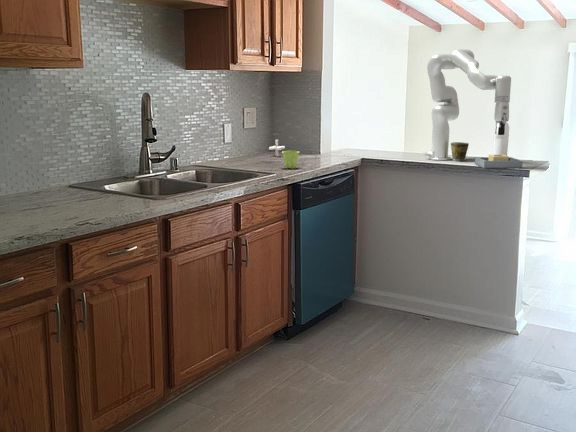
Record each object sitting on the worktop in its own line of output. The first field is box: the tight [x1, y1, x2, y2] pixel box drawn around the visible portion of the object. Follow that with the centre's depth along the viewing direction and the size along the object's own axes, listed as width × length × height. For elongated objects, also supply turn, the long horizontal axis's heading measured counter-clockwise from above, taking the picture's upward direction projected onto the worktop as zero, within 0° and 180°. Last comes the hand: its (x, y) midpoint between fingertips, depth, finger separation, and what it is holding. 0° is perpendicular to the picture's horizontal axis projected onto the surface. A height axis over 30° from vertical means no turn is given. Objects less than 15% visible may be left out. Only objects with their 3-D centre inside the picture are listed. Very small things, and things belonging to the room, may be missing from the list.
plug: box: [496, 121, 503, 139], centre depth 331 cm, size 4×4×9 cm
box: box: [474, 154, 523, 170], centre depth 335 cm, size 20×16×6 cm
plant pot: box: [281, 150, 300, 169], centre depth 331 cm, size 9×9×9 cm
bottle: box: [492, 121, 510, 156], centre depth 350 cm, size 8×8×30 cm
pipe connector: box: [268, 139, 286, 157], centre depth 379 cm, size 10×10×10 cm
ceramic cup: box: [450, 141, 470, 162], centre depth 358 cm, size 13×10×10 cm
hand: (499, 134), depth 332 cm, fingers closed on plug, 3 cm apart
